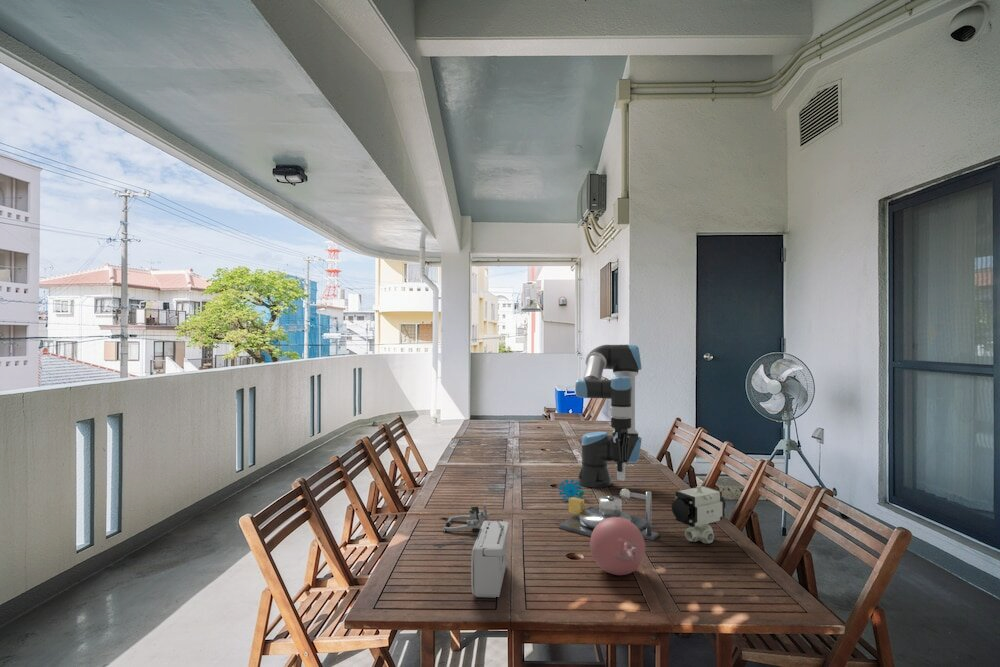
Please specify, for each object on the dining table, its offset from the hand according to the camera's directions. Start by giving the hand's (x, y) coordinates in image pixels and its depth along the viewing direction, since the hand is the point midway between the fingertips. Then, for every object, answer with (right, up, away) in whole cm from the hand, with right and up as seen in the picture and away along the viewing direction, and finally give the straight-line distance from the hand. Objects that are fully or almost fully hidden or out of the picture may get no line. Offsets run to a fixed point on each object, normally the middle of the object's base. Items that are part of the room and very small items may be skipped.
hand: (621, 479), depth 192 cm
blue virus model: (-16, -14, +19) cm, 28 cm away
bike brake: (-60, -14, -12) cm, 63 cm away
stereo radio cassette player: (-48, -13, -52) cm, 72 cm away
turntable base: (-8, -13, -11) cm, 19 cm away
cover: (-6, -10, -7) cm, 14 cm away
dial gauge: (+2, -13, -18) cm, 23 cm away
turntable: (-10, -12, -9) cm, 18 cm away
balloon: (-12, -13, -49) cm, 53 cm away
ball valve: (+21, -14, -24) cm, 34 cm away
